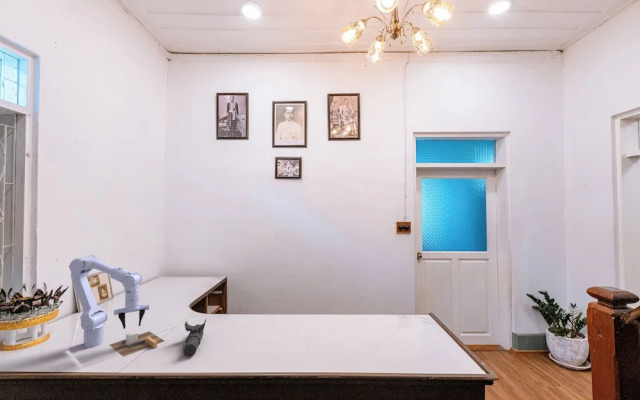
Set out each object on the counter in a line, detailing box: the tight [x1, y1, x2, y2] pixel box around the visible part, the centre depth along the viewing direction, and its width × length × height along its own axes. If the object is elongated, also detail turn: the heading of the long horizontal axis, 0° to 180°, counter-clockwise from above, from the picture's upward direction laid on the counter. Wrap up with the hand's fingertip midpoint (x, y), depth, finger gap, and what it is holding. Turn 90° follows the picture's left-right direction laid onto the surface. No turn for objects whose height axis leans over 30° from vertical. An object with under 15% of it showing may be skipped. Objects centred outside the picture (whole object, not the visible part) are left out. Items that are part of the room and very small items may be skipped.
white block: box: [125, 330, 139, 346], centre depth 139 cm, size 4×4×5 cm
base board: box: [109, 331, 165, 358], centre depth 140 cm, size 18×18×2 cm
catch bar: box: [146, 337, 158, 349], centre depth 138 cm, size 9×1×2 cm, turn 53°
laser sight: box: [182, 319, 207, 358], centre depth 140 cm, size 10×22×10 cm, turn 14°
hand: (132, 326), depth 139 cm, fingers open, 6 cm apart
